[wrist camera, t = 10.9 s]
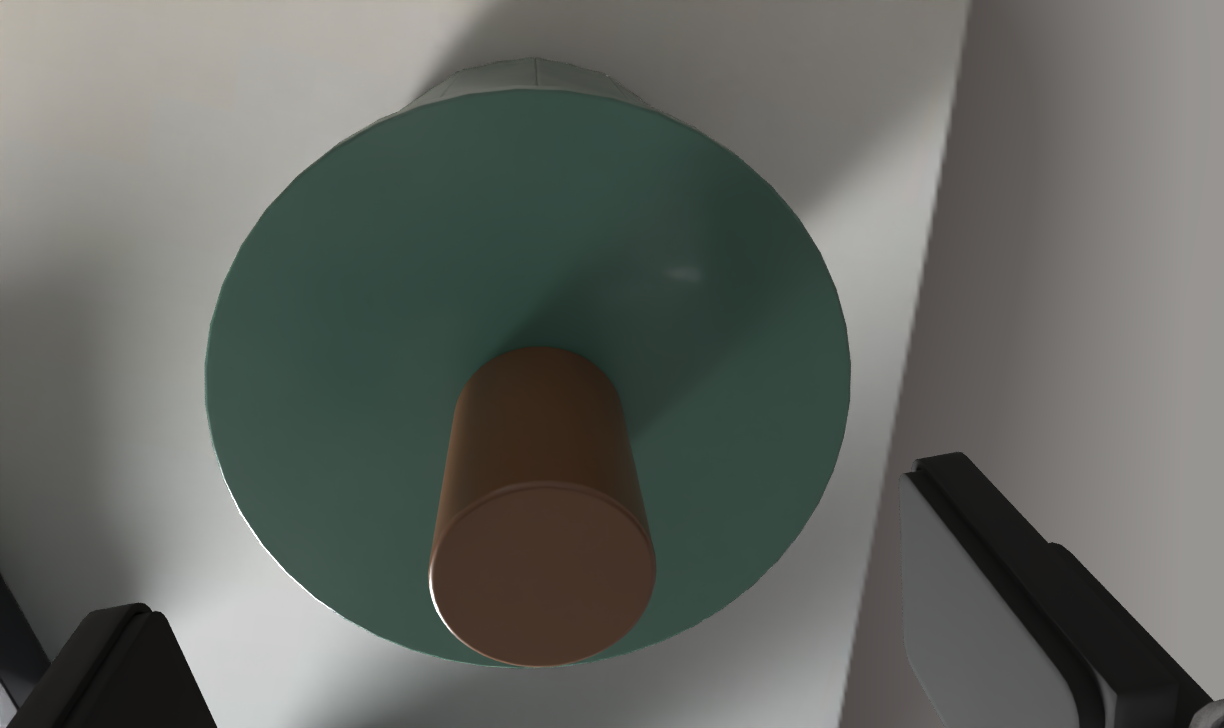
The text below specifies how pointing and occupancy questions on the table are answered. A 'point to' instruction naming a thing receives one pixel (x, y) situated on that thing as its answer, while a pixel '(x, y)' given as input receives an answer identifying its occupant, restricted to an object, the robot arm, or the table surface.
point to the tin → (527, 79)
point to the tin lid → (527, 377)
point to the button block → (17, 657)
